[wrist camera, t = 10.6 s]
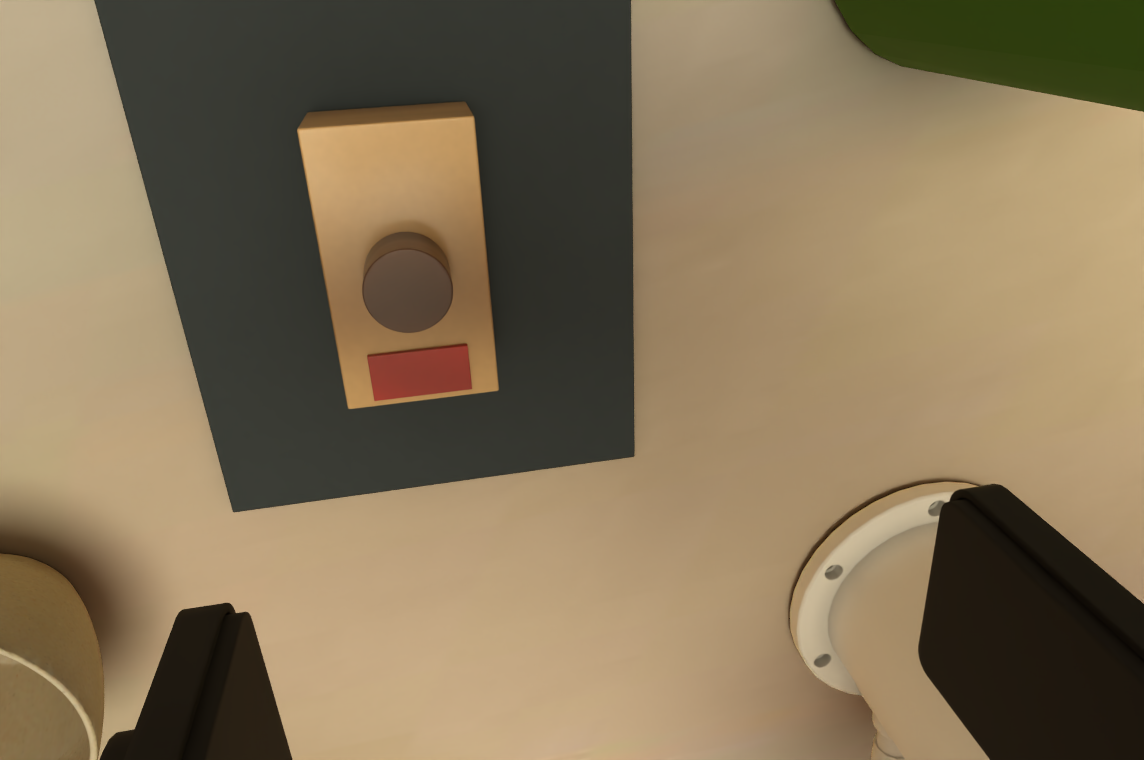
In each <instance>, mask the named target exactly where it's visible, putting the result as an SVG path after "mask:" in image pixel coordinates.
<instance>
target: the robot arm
mask: <svg viewBox="0 0 1144 760" xmlns="http://www.w3.org/2000/svg"><path fill="white" fill-rule="evenodd" d="M790 630H791V633H792V637H793V641H794V644H795V646H796V648H797V650H798V651H799V653H800V655H801V657H802V659H803V660H804V662H805V664H806V665H807V666H808V668H809V669H810V670H811V671H812V673H813V674H814V675H815V676H816V677H817V678H818V679H820V680H821V681H823V682H824V683H826V684H827V685H828V686H830V687H832V688H835V689H837V690H840V691H842V692H845V693H849V694H855V695H861V696H863V698H864V699H865V701H866V702H867V704H868V705H869V707H870V708H871V710H872V712H873V714H872V721H873V724H874V727H875V728H876V729H877V733H876V734H875V736H874V741H873V747H872V753H871V758H870V760H1144V604H1143V603H1142V602H1141V601H1140V600H1138V599H1137V598H1136V597H1135V596H1134V595H1132V594H1131V593H1130V592H1129V591H1128V590H1127V589H1125V588H1124V587H1123V586H1122V585H1121V584H1119V583H1118V582H1117V581H1116V580H1115V579H1113V578H1112V577H1111V576H1110V575H1109V574H1107V573H1106V572H1105V571H1104V570H1103V569H1102V568H1100V567H1099V566H1098V565H1097V564H1096V563H1094V562H1093V561H1092V560H1091V559H1090V558H1088V557H1087V556H1086V555H1085V554H1084V553H1083V552H1081V551H1080V550H1079V549H1078V548H1077V547H1075V546H1074V545H1073V544H1072V543H1071V542H1069V541H1068V540H1067V539H1066V538H1065V537H1064V536H1062V535H1061V534H1060V533H1059V532H1058V531H1056V530H1055V529H1054V528H1053V527H1052V526H1050V525H1049V524H1048V523H1047V522H1046V521H1044V520H1043V519H1042V518H1041V517H1040V516H1039V515H1037V514H1036V513H1035V512H1034V511H1033V510H1031V509H1030V508H1029V507H1028V506H1027V505H1025V504H1024V503H1023V502H1022V501H1021V500H1020V499H1018V498H1017V497H1016V496H1015V495H1014V494H1012V493H1011V492H1010V491H1009V490H1008V489H1006V488H1005V487H1003V486H1001V485H998V484H991V485H984V486H976V485H972V484H969V483H958V482H938V483H929V484H922V485H918V486H915V487H911V488H907V489H904V490H900V491H897V492H895V493H893V494H890V495H888V496H886V497H884V498H881V499H879V500H877V501H875V502H873V503H871V504H870V505H868V506H867V507H865V508H863V509H862V510H860V511H859V512H857V513H855V514H854V515H852V516H851V517H850V518H849V519H847V520H846V521H845V522H844V523H843V524H841V525H840V526H839V527H838V528H837V529H835V530H834V531H833V532H832V533H831V534H830V535H829V536H828V538H827V539H826V540H825V541H824V542H823V543H822V544H821V545H820V546H819V548H818V549H817V550H816V551H815V552H814V554H813V555H812V557H811V559H810V560H809V562H808V563H807V565H806V566H805V568H804V569H803V571H802V573H801V576H800V578H799V580H798V583H797V585H796V587H795V590H794V593H793V598H792V602H791V607H790ZM100 760H292V757H291V753H290V750H289V746H288V743H287V739H286V736H285V732H284V729H283V725H282V722H281V718H280V715H279V712H278V708H277V705H276V701H275V698H274V694H273V691H272V687H271V684H270V680H269V677H268V673H267V670H266V667H265V663H264V660H263V656H262V653H261V649H260V646H259V642H258V639H257V635H256V632H255V628H254V625H253V622H252V619H251V616H250V614H249V613H248V612H242V613H236V612H235V610H234V608H233V606H232V605H231V604H230V603H223V604H216V605H210V606H203V607H197V608H190V609H184V610H182V611H180V612H179V613H178V615H177V617H176V619H175V622H174V625H173V628H172V630H171V633H170V636H169V638H168V641H167V644H166V646H165V649H164V652H163V655H162V657H161V660H160V663H159V665H158V668H157V671H156V673H155V676H154V679H153V681H152V684H151V687H150V690H149V692H148V695H147V698H146V700H145V703H144V706H143V708H142V711H141V714H140V717H139V719H138V722H137V725H136V727H135V730H129V731H123V732H118V733H116V734H115V735H114V736H112V737H111V738H110V739H109V741H108V743H107V745H106V747H105V749H104V750H103V753H102V755H101V758H100Z"/></svg>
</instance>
